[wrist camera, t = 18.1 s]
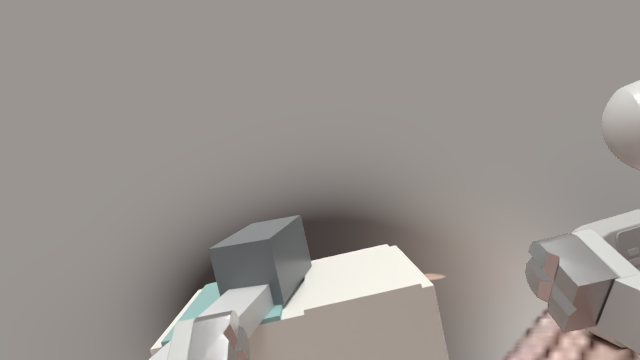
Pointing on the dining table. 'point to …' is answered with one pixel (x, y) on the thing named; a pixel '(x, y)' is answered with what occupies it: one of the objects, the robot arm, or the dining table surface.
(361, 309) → the stand
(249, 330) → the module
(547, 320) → the dining table surface
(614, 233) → the rounded white slab
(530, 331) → the dining table surface
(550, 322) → the dining table surface
